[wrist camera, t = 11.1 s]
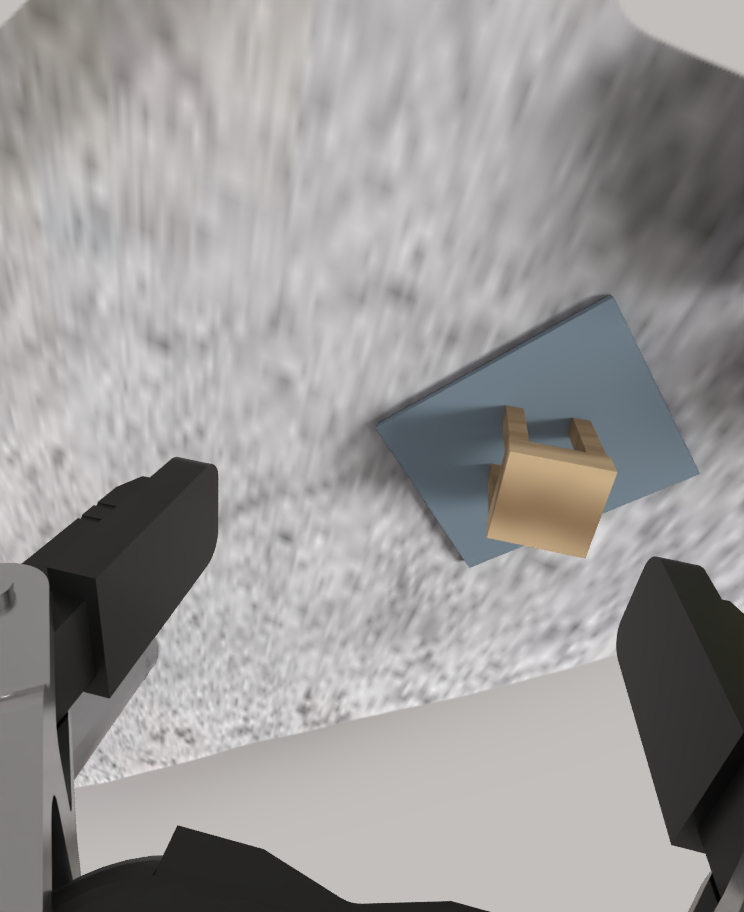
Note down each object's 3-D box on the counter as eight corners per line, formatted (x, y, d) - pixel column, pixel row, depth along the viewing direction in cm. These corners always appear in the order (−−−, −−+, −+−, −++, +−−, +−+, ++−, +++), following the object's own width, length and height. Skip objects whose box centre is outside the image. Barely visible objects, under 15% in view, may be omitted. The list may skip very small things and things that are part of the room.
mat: (469, 560, 46) (469, 567, 45) (377, 423, 42) (375, 428, 42) (695, 467, 40) (700, 473, 39) (610, 294, 36) (613, 297, 35)
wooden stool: (505, 403, 39) (510, 451, 32) (592, 419, 38) (617, 472, 31) (486, 478, 42) (486, 537, 35) (567, 494, 41) (585, 558, 34)
